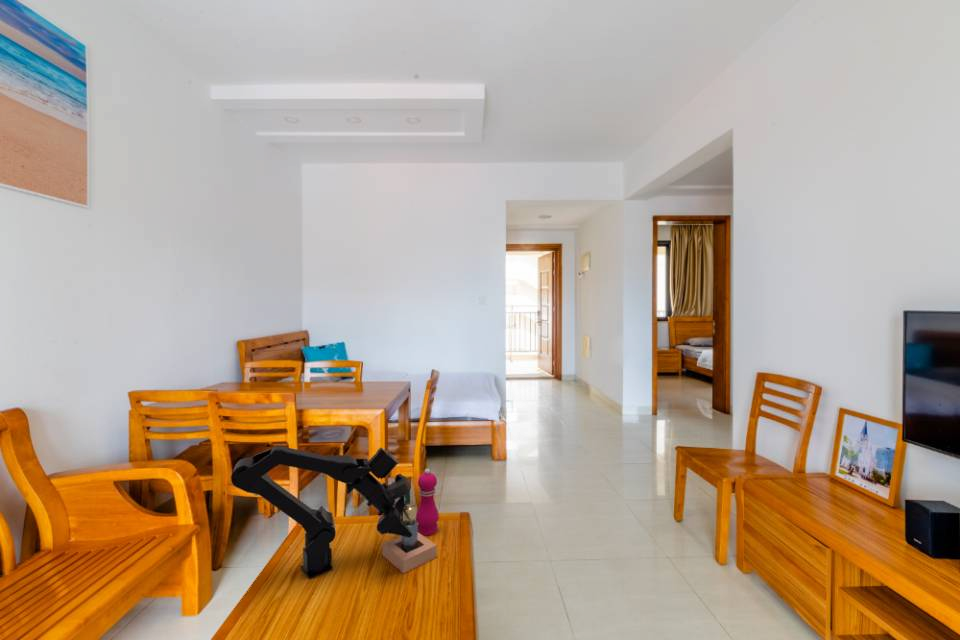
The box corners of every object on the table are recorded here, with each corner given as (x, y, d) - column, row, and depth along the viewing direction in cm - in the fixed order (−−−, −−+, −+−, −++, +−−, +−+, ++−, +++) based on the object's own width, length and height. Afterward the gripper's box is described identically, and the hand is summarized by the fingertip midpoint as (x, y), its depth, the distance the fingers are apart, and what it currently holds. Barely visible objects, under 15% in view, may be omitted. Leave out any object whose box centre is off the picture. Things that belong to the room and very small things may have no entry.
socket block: (403, 573, 118) (403, 560, 117) (382, 555, 126) (382, 543, 126) (436, 557, 125) (436, 545, 125) (414, 541, 133) (414, 529, 133)
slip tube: (406, 561, 122) (407, 512, 121) (398, 554, 125) (398, 506, 125) (420, 555, 125) (420, 507, 125) (411, 548, 129) (411, 501, 128)
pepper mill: (440, 525, 143) (440, 464, 142) (436, 537, 135) (436, 473, 134) (418, 523, 143) (418, 463, 142) (413, 535, 136) (413, 472, 135)
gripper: (389, 484, 114) (431, 523, 116) (396, 458, 133) (432, 492, 134) (358, 514, 114) (401, 554, 116) (370, 484, 133) (406, 518, 134)
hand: (412, 527), depth 125 cm, fingers open, 9 cm apart
